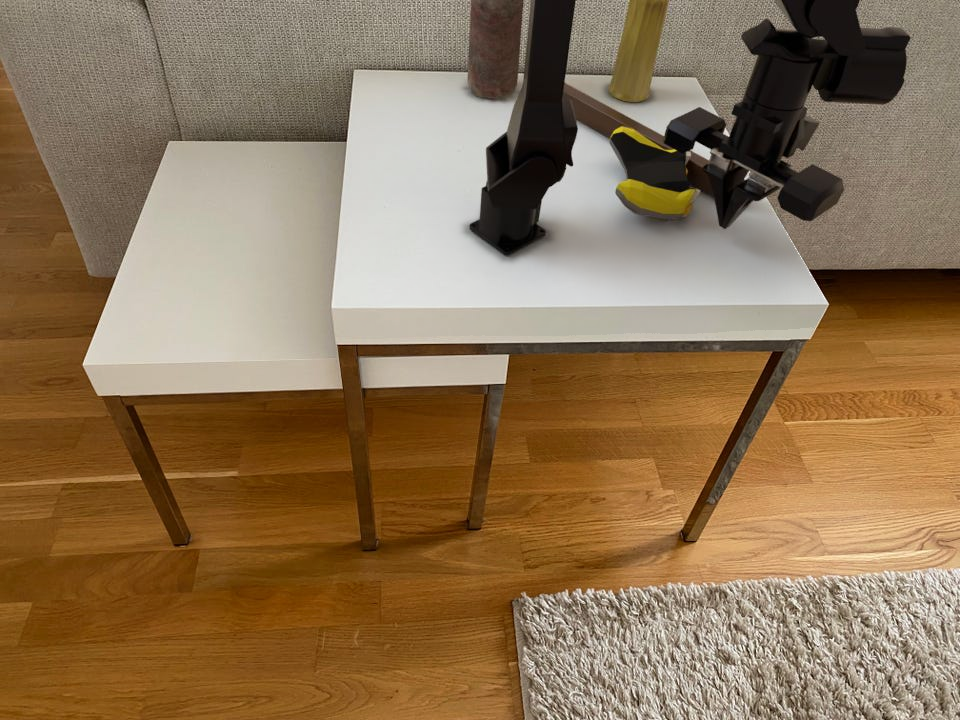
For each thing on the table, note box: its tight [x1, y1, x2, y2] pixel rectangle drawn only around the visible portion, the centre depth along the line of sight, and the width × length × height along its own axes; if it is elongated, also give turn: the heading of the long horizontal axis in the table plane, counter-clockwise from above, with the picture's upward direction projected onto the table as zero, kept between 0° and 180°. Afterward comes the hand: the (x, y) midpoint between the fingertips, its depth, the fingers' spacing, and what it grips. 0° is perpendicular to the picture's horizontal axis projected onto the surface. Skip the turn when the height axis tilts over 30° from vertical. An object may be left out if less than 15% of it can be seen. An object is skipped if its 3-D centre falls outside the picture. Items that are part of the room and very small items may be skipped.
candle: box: [467, 0, 525, 99], centre depth 97 cm, size 8×7×20 cm
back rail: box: [562, 82, 746, 199], centre depth 94 cm, size 2×34×3 cm, turn 42°
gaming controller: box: [608, 126, 702, 222], centre depth 85 cm, size 15×6×10 cm
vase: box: [608, 0, 670, 103], centre depth 100 cm, size 6×6×14 cm
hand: (724, 226), depth 80 cm, fingers closed
